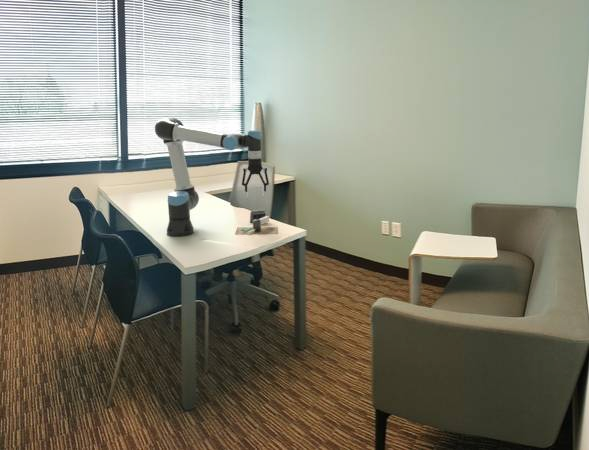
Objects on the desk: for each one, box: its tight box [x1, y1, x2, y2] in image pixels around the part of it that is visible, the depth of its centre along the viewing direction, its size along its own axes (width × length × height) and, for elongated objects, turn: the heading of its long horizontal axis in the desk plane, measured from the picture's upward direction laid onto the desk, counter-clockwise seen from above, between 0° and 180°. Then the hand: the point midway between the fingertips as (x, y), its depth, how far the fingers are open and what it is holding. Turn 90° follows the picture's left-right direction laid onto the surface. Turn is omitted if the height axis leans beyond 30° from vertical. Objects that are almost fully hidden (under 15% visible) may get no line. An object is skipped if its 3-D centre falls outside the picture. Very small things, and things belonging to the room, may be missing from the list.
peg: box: [247, 215, 270, 233], centre depth 280 cm, size 22×4×6 cm, turn 152°
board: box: [234, 226, 279, 236], centre depth 280 cm, size 24×16×2 cm, turn 92°
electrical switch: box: [249, 209, 266, 224], centre depth 298 cm, size 9×5×9 cm, turn 113°
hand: (255, 197), depth 283 cm, fingers open, 8 cm apart
